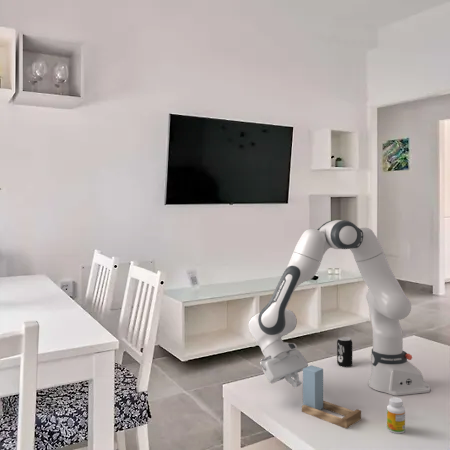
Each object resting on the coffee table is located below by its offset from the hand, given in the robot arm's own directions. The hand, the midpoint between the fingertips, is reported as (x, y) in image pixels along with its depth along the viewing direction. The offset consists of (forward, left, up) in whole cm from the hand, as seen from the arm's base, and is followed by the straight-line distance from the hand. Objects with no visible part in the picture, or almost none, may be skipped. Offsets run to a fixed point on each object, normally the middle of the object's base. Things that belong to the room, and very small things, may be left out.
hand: (298, 386), depth 169 cm
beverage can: (-27, -39, -7) cm, 48 cm away
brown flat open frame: (-9, +10, -6) cm, 15 cm away
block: (-4, +5, -6) cm, 9 cm away
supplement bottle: (-27, +21, -7) cm, 35 cm away
